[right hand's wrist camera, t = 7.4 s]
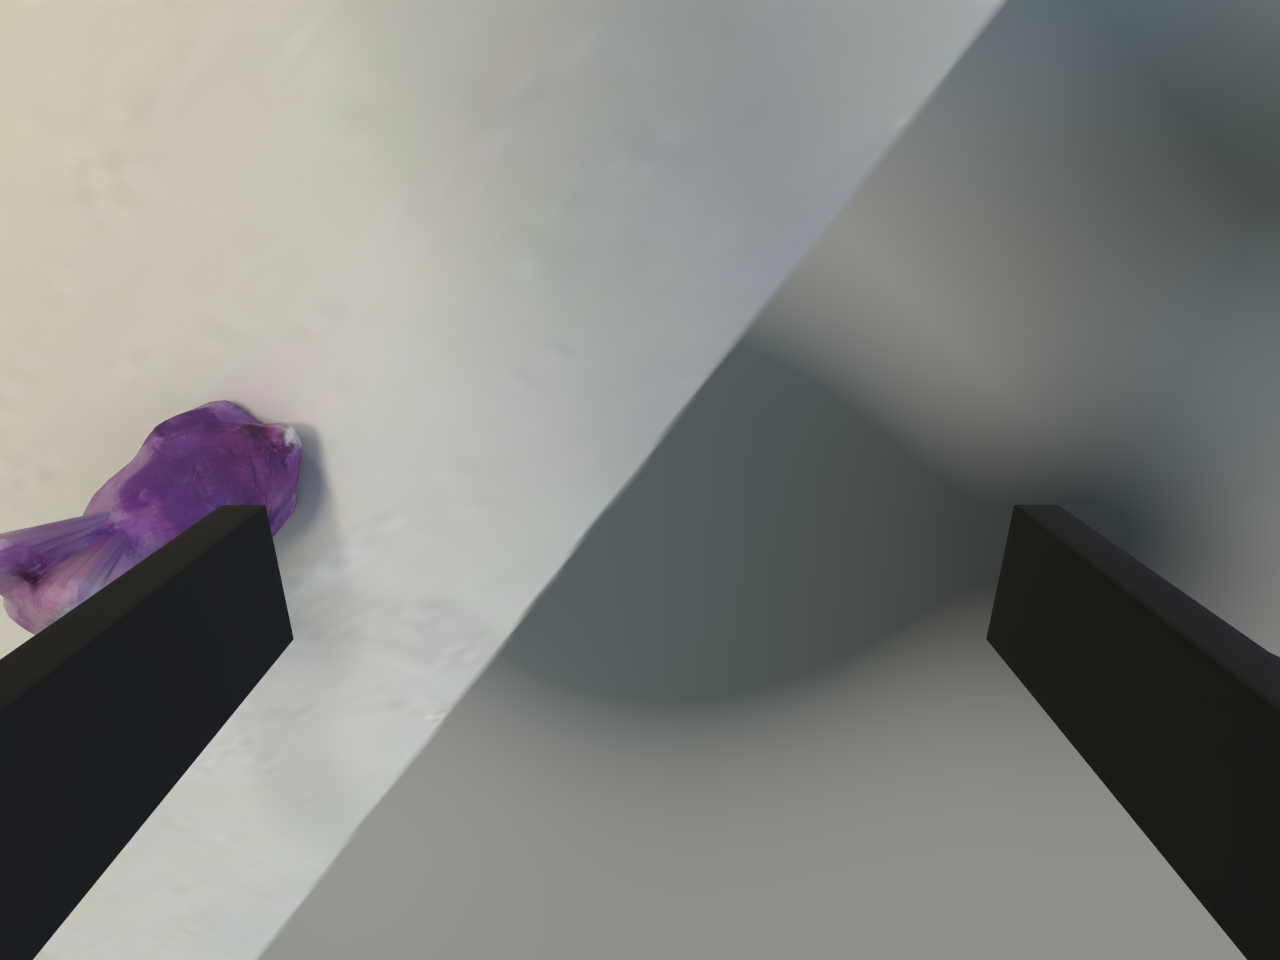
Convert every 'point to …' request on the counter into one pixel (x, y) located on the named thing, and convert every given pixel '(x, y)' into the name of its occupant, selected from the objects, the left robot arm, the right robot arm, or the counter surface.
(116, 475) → the figurine
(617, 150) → the counter surface
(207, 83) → the counter surface
